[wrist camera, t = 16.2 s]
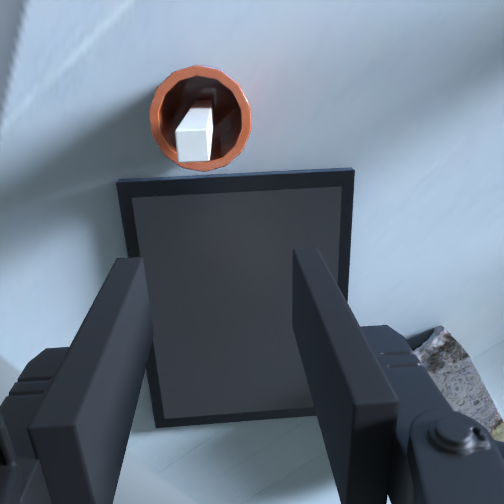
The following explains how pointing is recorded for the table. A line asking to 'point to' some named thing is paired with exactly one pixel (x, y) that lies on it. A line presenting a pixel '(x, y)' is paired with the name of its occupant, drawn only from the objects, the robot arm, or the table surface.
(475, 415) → the geological specimen
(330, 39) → the table surface
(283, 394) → the tablet
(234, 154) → the pen cup
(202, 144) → the stylus
